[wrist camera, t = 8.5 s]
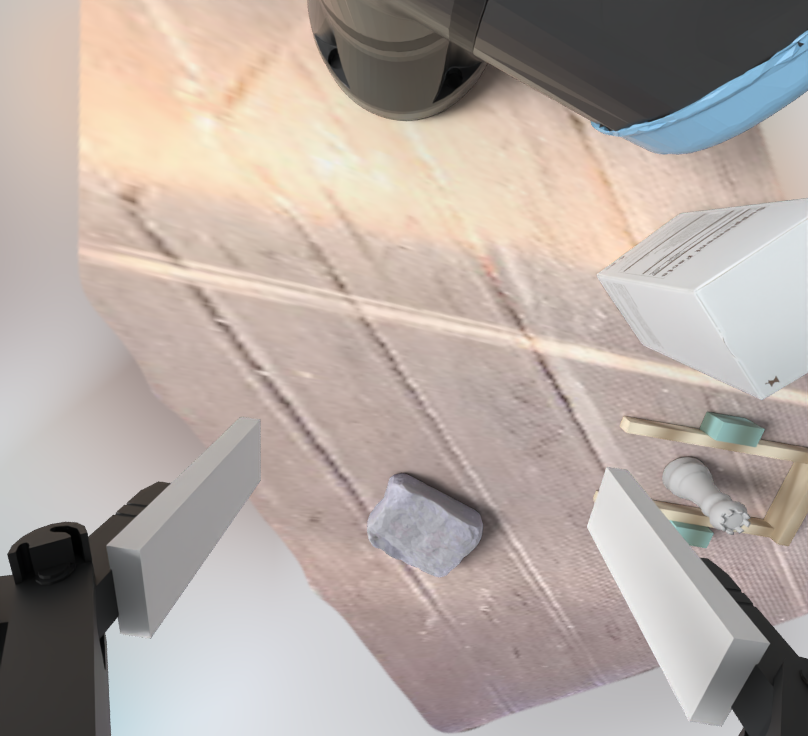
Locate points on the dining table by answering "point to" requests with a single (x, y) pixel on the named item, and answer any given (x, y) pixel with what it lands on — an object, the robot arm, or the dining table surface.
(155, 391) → the dining table surface
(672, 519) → the beam track
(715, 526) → the rook chess piece
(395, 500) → the stone block
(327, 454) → the dining table surface
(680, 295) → the supplement box
